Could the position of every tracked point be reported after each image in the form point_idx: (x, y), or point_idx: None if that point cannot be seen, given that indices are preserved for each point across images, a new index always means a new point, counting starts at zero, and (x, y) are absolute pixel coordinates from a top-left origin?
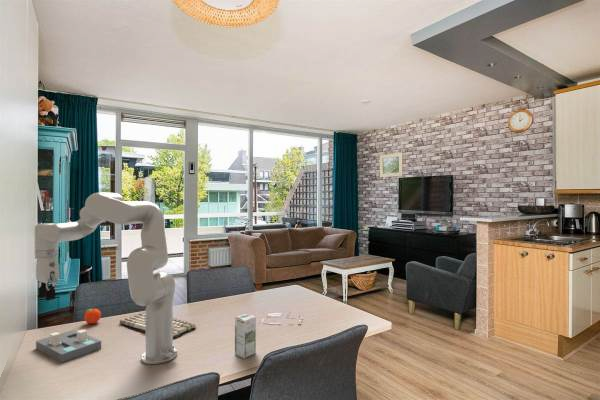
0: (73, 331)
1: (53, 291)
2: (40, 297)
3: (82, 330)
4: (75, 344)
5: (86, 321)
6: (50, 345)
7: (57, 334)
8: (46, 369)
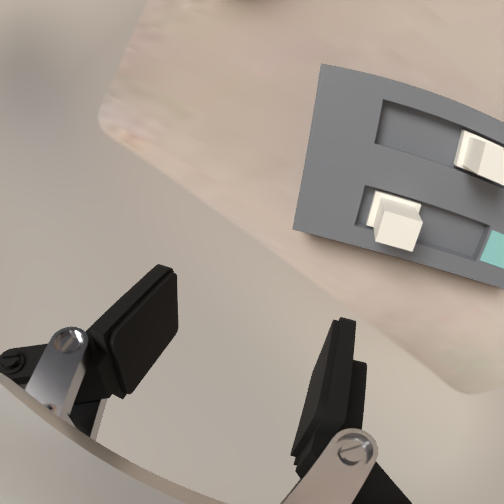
0: (345, 83)
1: (362, 420)
2: (176, 327)
3: (494, 156)
4: (495, 208)
5: None
6: None
7: (418, 234)
8: (481, 314)
